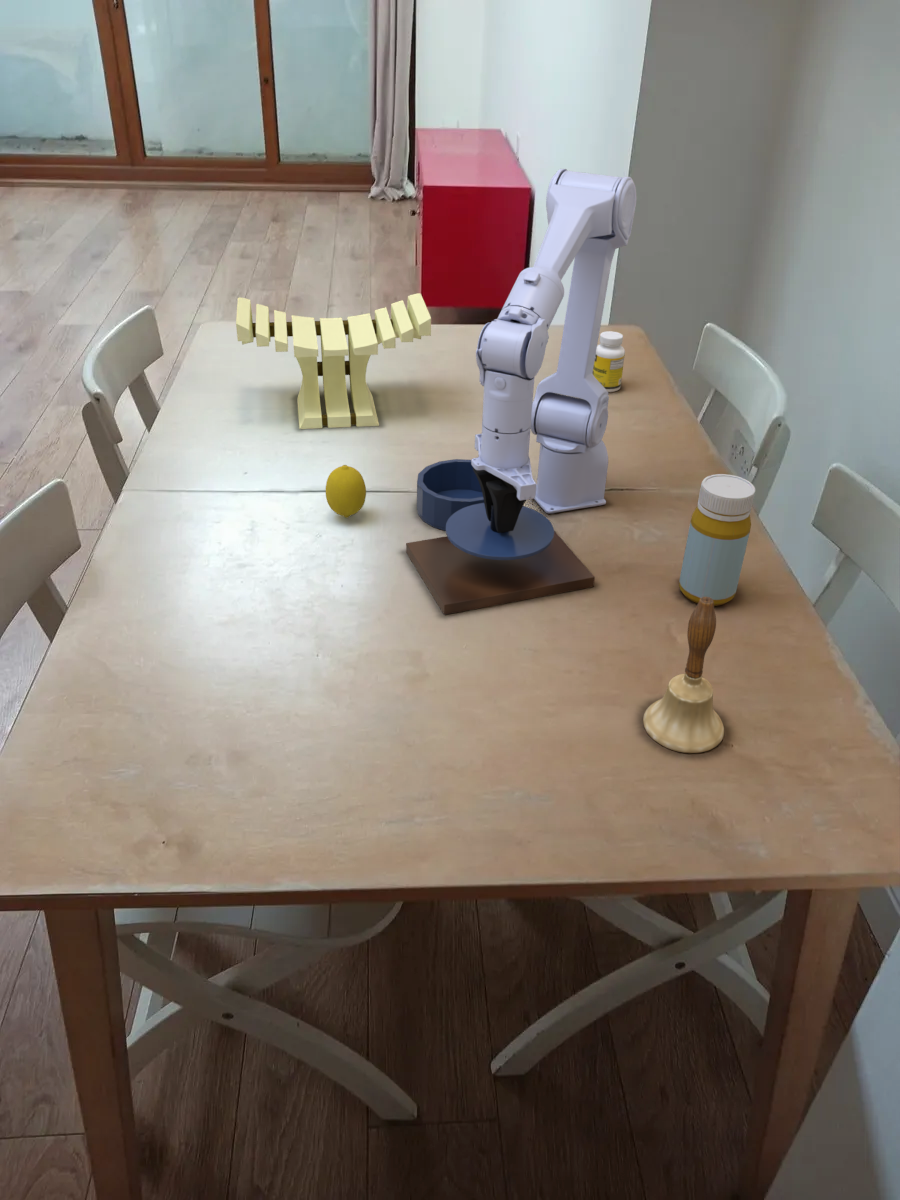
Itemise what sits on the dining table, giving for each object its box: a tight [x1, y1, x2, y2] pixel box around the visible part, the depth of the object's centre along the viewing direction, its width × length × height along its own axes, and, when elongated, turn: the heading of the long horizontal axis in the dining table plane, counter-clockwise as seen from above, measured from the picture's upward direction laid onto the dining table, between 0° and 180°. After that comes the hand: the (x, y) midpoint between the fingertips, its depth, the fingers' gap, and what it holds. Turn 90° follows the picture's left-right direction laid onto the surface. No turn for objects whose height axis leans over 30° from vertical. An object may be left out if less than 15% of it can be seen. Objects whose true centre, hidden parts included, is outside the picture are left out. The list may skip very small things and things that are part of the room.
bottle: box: [678, 473, 756, 607], centre depth 118 cm, size 7×7×15 cm
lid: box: [445, 502, 555, 560], centre depth 121 cm, size 14×14×4 cm
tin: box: [416, 458, 484, 532], centre depth 137 cm, size 13×13×5 cm
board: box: [405, 530, 596, 616], centre depth 125 cm, size 20×15×2 cm
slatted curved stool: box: [235, 292, 432, 430], centre depth 161 cm, size 30×16×18 cm, turn 99°
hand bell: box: [642, 597, 725, 754], centre depth 97 cm, size 8×8×16 cm
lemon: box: [325, 464, 367, 519], centre depth 133 cm, size 6×6×8 cm
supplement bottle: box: [592, 330, 626, 393], centre depth 174 cm, size 5×5×10 cm
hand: (500, 524), depth 121 cm, fingers closed on lid, 2 cm apart
